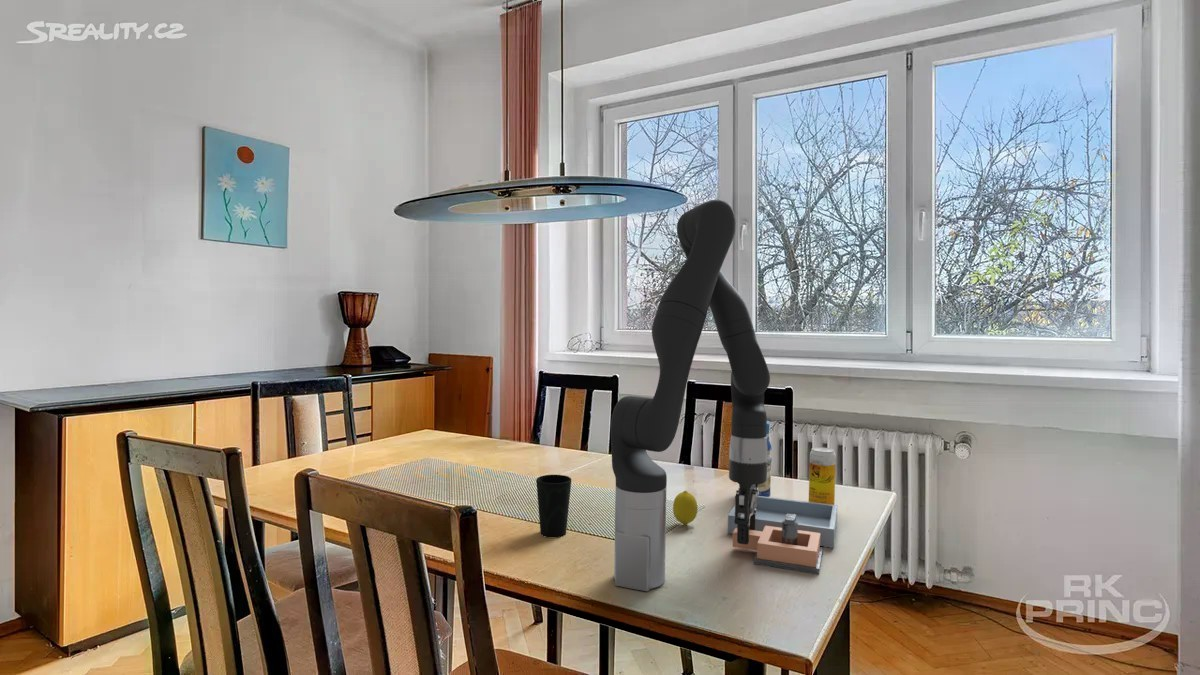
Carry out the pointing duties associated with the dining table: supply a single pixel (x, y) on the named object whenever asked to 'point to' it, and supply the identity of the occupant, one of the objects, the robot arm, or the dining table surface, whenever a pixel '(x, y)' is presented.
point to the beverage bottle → (765, 487)
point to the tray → (807, 517)
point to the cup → (553, 504)
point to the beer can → (822, 475)
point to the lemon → (685, 507)
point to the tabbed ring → (783, 546)
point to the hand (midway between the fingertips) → (746, 536)
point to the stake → (790, 538)
